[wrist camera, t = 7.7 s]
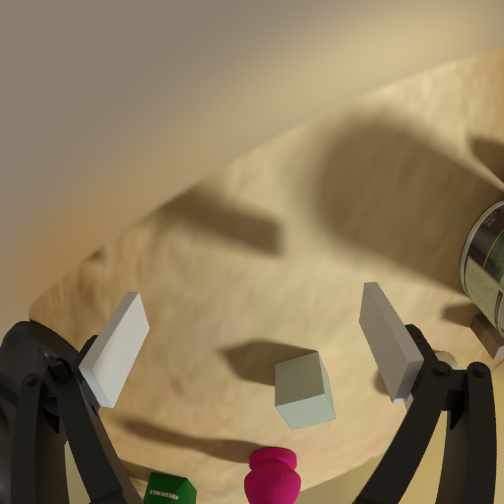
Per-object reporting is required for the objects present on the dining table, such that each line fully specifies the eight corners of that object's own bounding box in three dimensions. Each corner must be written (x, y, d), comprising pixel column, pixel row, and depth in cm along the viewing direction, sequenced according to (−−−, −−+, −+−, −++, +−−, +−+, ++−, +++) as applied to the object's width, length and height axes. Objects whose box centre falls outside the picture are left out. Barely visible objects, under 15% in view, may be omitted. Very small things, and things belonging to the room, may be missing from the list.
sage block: (289, 389, 27) (291, 429, 22) (275, 363, 26) (274, 406, 21) (329, 377, 26) (336, 418, 21) (318, 350, 25) (324, 393, 20)
